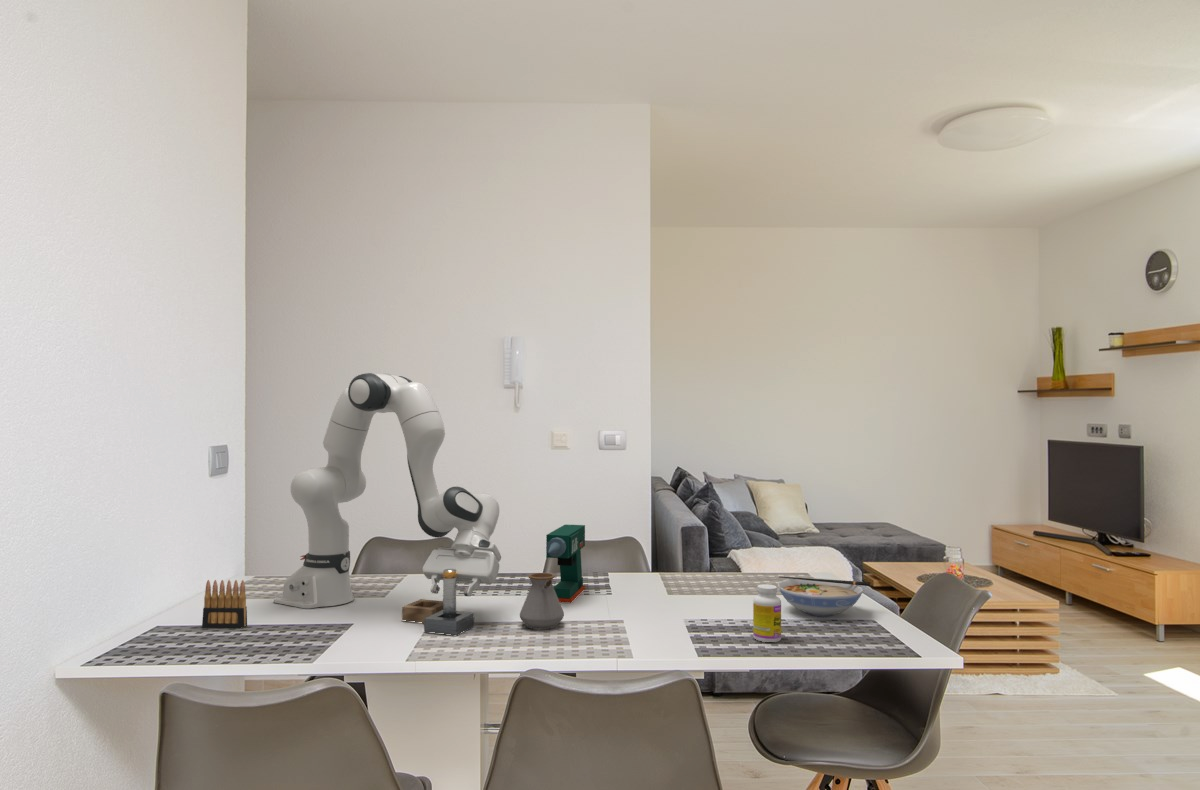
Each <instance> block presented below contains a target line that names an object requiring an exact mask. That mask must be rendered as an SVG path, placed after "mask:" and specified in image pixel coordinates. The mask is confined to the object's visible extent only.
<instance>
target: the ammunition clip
mask: <svg viewBox="0 0 1200 790" xmlns="http://www.w3.org/2000/svg"><path fill="white" fill-rule="evenodd" d="M220 581H221V582H220V583H219V588H218V582H217V580H216V579H214V581H213V584H212V589H211V581H210V579H208V580H207V581H206V583H205V591H204V592H205V593H204V600H203V602H204V603H203V604H204V605H203V609H202V622H201V629H242V628H241V627H245V626H246V627H248V609H247V608H248V607H247V596H246V583H245V580H244V579H242V580H241V581H240V587H239V583H238V580H237V579H235V580H234V583H233V587H232V582H231V580H230V579H228V581H227V584H226V587H225V581H224V580H223V579H221V580H220ZM218 589H219V590H218ZM225 590H226V591H225ZM232 590H233V591H232ZM246 627H245V628H246Z"/></svg>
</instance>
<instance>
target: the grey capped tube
mask: <svg viewBox="0 0 1200 790" xmlns="http://www.w3.org/2000/svg"><path fill="white" fill-rule="evenodd" d="M456 577H457V570H456V569H444V570H443V580H442V582H443V583H442V585H443V586H442V587H443V588H442V589H443V590H442V591H443V592H442V597H443V598H442V601H443V618H451V619H453V618H455V617H456V611H457V581H456Z"/></svg>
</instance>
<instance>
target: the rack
mask: <svg viewBox="0 0 1200 790" xmlns="http://www.w3.org/2000/svg"><path fill="white" fill-rule="evenodd" d="M401 609H402V610H401V621H402V620H406V621H415V622H422V623H424V618H426V617H429V616H431V615H433V614H435V613H437V612H439V611H441V610H443V600H432V599H425V598H424V599H421V598H420V599H418V600H415V601H412V602H411V603H408V604H405V605H403V606H402V608H401Z"/></svg>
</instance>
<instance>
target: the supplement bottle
mask: <svg viewBox="0 0 1200 790" xmlns="http://www.w3.org/2000/svg"><path fill="white" fill-rule="evenodd" d="M756 589H757V594H756V595H755V597H754V598H753V600H752V601H753V603H752V605H753V606H752V607H753V610H752V611H753V615H752V616H753V620H752V621H753V622H752V626H753V627H752V628H753V629H752V631H753V633H752V634H753V635H752V636H753V639H754V640H755V639H756V640H755V641H757V640H758V641H757V642H760V641H762V642H761V643H765V642H775V643H778V642H780V641H781V639H782V601H781V598H780V597H779V596H777V592H778V585H777V586H776V585H774V584H767V583H766V584H764V583H763V584H759V585H757V588H756Z"/></svg>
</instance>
